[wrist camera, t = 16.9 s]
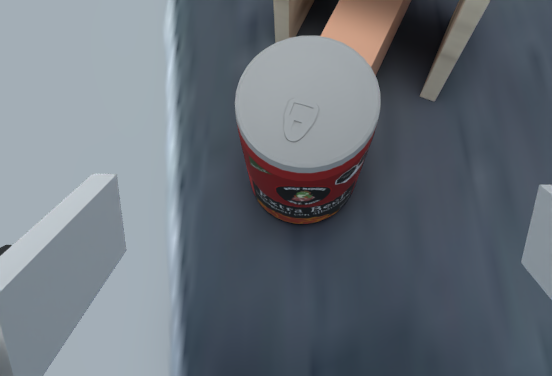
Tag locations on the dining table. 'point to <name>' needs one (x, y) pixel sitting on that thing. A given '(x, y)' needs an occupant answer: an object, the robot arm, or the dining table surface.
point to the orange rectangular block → (366, 26)
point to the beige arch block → (472, 3)
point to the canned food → (306, 125)
